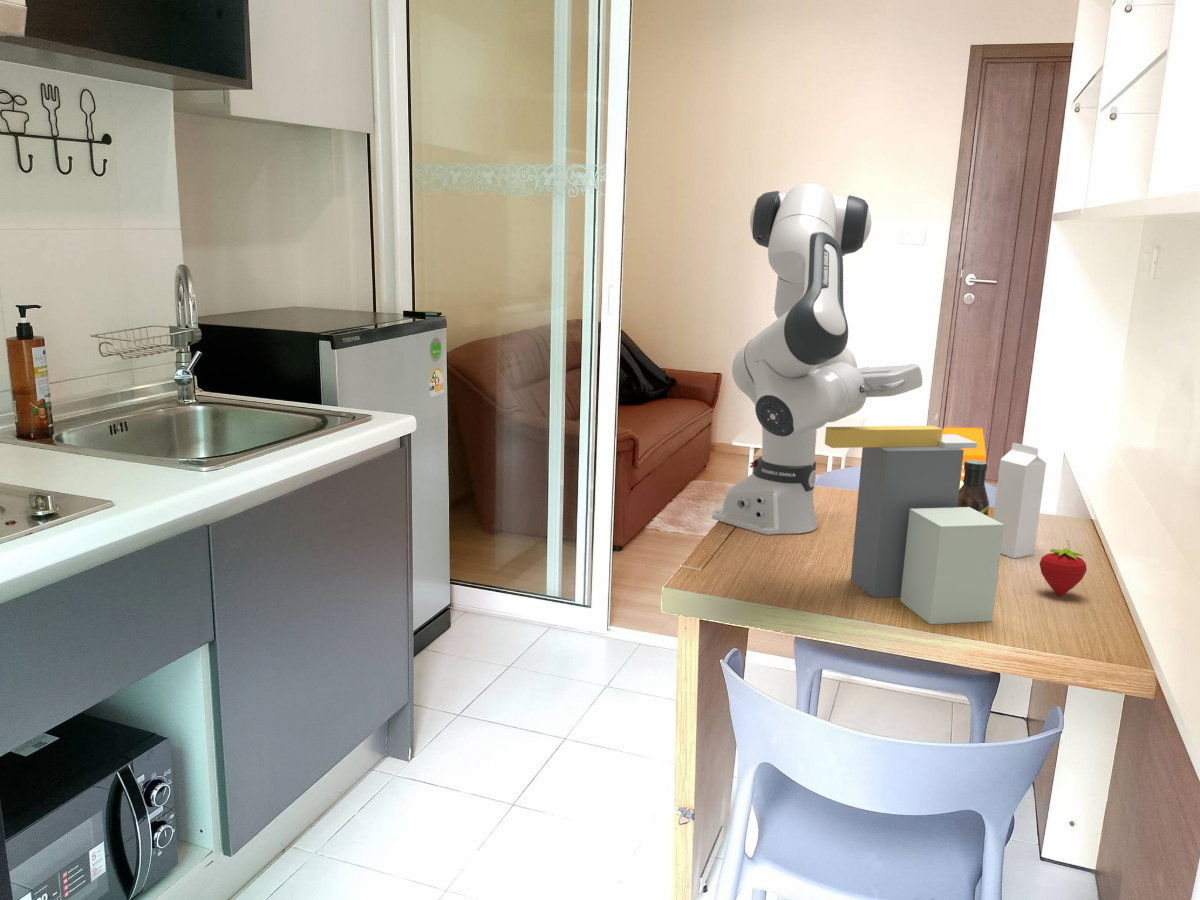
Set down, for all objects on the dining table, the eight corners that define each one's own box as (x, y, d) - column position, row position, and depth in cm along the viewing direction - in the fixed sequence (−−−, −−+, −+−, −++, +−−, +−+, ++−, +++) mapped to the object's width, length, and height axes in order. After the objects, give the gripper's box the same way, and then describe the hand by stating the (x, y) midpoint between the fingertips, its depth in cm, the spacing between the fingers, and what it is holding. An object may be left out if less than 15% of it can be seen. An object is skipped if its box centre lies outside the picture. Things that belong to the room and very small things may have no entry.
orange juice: (979, 518, 214) (989, 431, 210) (940, 517, 215) (949, 430, 210) (966, 508, 222) (976, 424, 218) (928, 507, 222) (937, 423, 218)
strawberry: (1033, 586, 172) (1040, 533, 170) (1079, 592, 170) (1087, 538, 168) (1038, 598, 167) (1045, 543, 165) (1085, 603, 165) (1093, 548, 163)
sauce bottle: (985, 568, 181) (997, 467, 177) (950, 565, 182) (962, 464, 178) (979, 557, 187) (991, 459, 183) (945, 554, 189) (956, 457, 184)
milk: (1013, 559, 187) (1027, 450, 182) (988, 549, 193) (1001, 443, 188) (1034, 554, 190) (1049, 447, 185) (1009, 545, 195) (1022, 440, 190)
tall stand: (873, 597, 165) (887, 451, 159) (850, 579, 173) (863, 439, 168) (947, 594, 167) (963, 449, 162) (921, 576, 176) (936, 438, 170)
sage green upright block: (930, 624, 154) (941, 526, 150) (900, 601, 164) (909, 508, 160) (991, 621, 156) (1004, 524, 152) (958, 598, 166) (969, 507, 162)
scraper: (836, 450, 158) (838, 432, 158) (819, 441, 165) (821, 424, 164) (976, 448, 163) (978, 431, 162) (954, 439, 170) (956, 423, 169)
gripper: (888, 368, 146) (940, 348, 154) (788, 374, 163) (840, 356, 171) (894, 408, 148) (946, 386, 155) (795, 410, 164) (846, 390, 172)
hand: (889, 370), depth 163 cm, fingers open, 8 cm apart
